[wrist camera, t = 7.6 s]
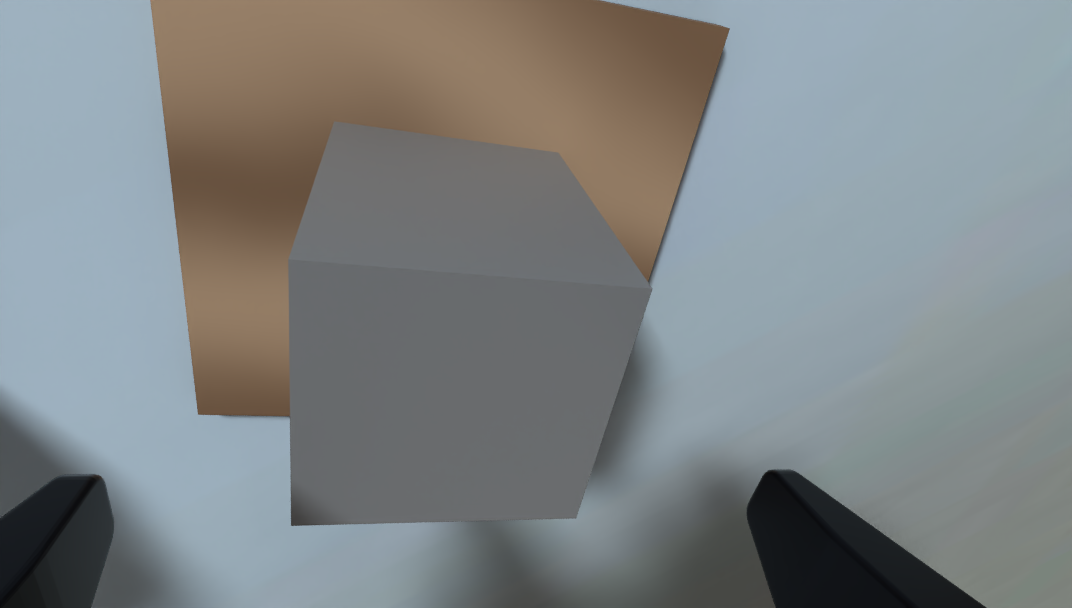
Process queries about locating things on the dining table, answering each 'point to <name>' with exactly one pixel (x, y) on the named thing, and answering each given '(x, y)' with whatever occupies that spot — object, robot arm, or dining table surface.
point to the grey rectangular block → (451, 332)
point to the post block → (400, 104)
